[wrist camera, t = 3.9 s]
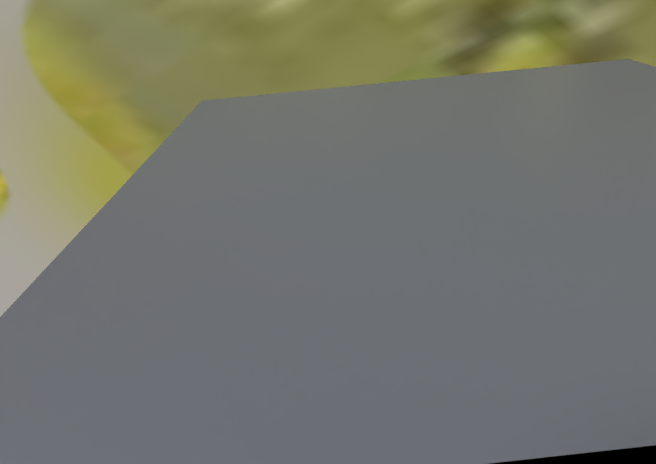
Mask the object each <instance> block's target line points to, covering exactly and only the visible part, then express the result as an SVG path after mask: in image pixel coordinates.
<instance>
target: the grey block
mask: <svg viewBox="0 0 656 464" xmlns="http://www.w3.org/2000/svg"><path fill="white" fill-rule="evenodd" d="M0 464H656V67H653V66H650V65H647V64H644V63H641V62H637V61H634V60H631V59H624V60H614V61H603V62H593V63H583V64H573V65H562V66H552V67H542V68H532V69H522V70H511V71H501V72H491V73H481V74H471V75H460V76H450V77H440V78H430V79H420V80H409V81H399V82H389V83H379V84H369V85H358V86H348V87H338V88H328V89H317V90H307V91H297V92H287V93H277V94H266V95H256V96H246V97H236V98H226V99H215V100H205V101H201V102H200V104H199V105H198V106H197V107H196V108H195V109H194V110H193V111H192V112H191V113H190V114H189V115H188V116H187V117H186V119H185V120H184V121H183V122H182V123H181V124H180V125H179V126H178V127H177V128H176V129H175V130H174V131H173V132H172V134H171V135H170V136H169V137H168V138H167V139H166V140H165V141H164V142H163V143H162V144H161V145H160V146H159V148H158V149H157V150H156V151H155V152H154V153H153V154H152V155H151V156H150V157H149V158H148V159H147V160H146V161H145V163H144V164H143V165H142V166H141V167H140V168H139V169H138V170H137V171H136V172H135V173H134V174H133V175H132V176H131V178H130V179H129V180H128V181H127V182H126V183H125V184H124V185H123V186H122V187H121V188H120V189H119V191H118V192H117V193H116V194H115V195H114V196H113V197H112V198H111V199H110V200H109V201H108V202H107V203H106V204H105V205H104V207H103V208H102V209H101V210H100V211H99V212H98V213H97V214H96V215H95V216H94V217H93V218H92V220H90V222H89V223H88V224H87V225H86V226H85V227H84V228H83V229H82V230H81V231H80V232H79V233H78V235H77V236H76V237H75V238H74V239H73V240H72V241H71V242H70V243H69V244H68V245H67V246H66V247H65V249H64V250H63V251H62V252H61V253H60V254H59V255H58V256H57V257H56V258H55V259H54V260H53V261H52V262H51V263H50V265H49V266H48V267H47V268H46V269H45V270H44V271H43V272H42V273H41V274H40V275H39V276H38V277H37V278H36V280H35V281H34V282H33V283H32V284H31V285H30V286H29V287H28V288H27V289H26V290H25V292H23V293H22V295H21V296H20V297H19V298H18V299H17V300H16V301H15V302H14V303H13V304H12V305H11V306H10V308H9V309H8V310H7V311H6V312H5V313H4V314H3V315H2V316H1V317H0Z"/></svg>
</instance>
